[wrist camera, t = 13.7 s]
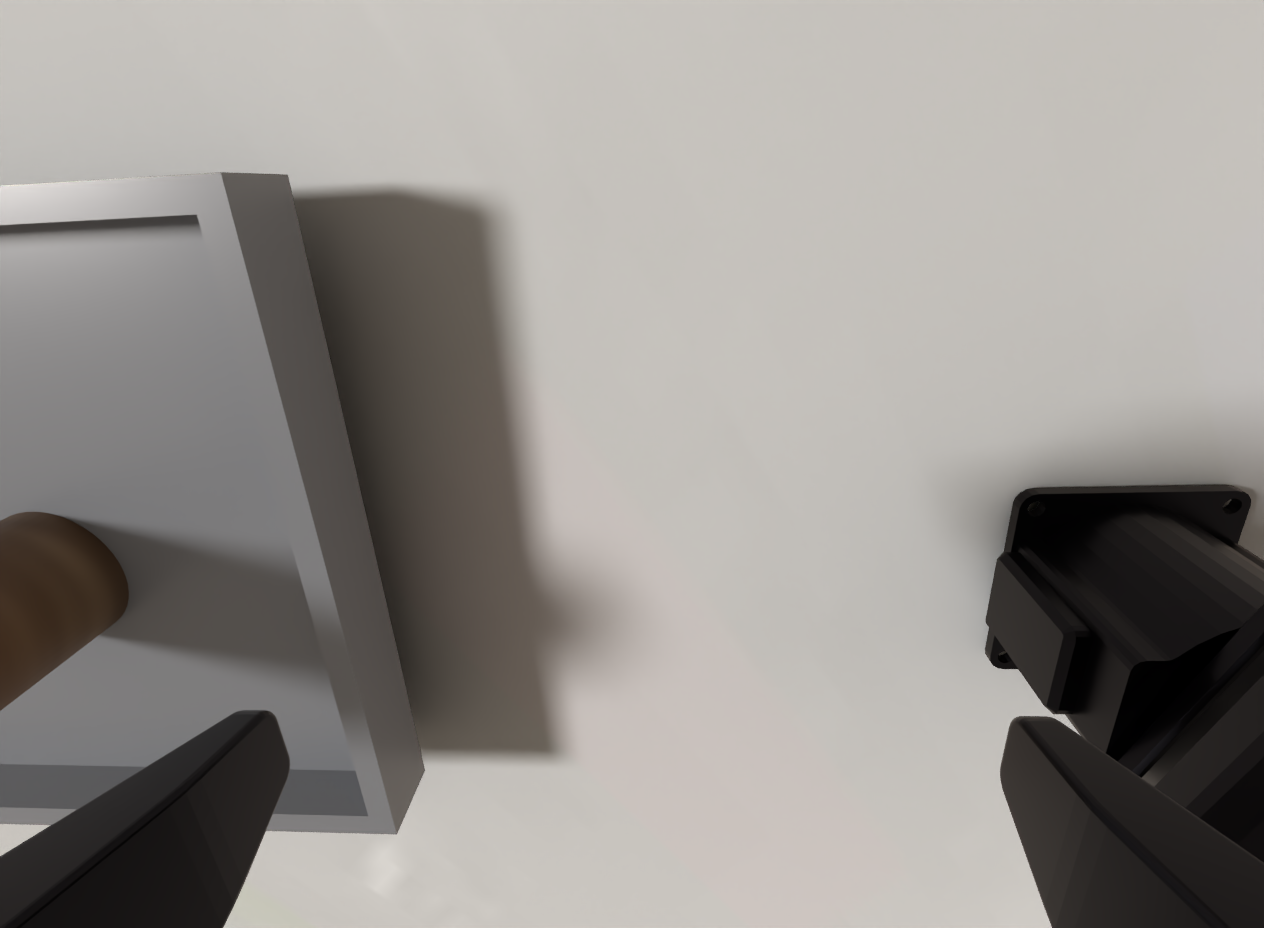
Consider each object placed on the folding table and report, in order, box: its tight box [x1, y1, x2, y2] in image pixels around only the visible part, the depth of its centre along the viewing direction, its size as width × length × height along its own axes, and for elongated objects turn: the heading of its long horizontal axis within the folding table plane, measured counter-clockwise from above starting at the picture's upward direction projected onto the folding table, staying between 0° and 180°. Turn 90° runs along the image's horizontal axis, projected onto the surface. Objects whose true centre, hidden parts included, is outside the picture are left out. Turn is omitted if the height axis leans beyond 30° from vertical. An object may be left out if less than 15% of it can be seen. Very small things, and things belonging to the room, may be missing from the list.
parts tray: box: [0, 172, 425, 834], centre depth 21 cm, size 20×20×4 cm
